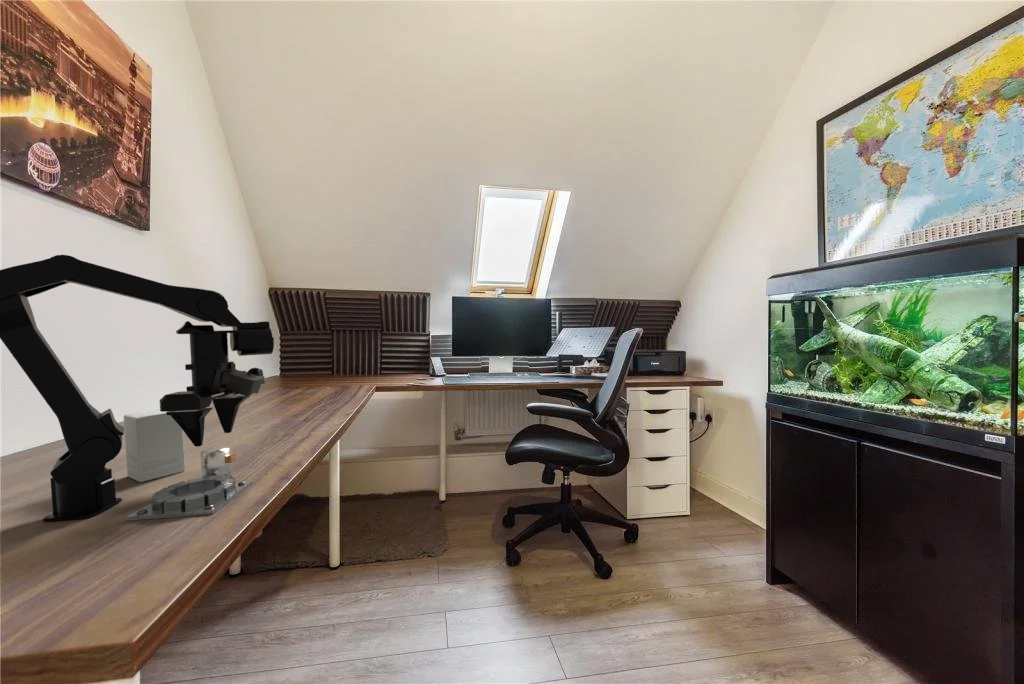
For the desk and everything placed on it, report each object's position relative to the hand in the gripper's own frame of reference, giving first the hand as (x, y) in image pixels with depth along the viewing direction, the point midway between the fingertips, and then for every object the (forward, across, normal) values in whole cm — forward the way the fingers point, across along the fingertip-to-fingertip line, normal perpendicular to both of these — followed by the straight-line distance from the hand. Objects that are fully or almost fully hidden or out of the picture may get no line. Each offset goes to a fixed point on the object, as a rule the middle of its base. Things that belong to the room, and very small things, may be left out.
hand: (214, 439), depth 77 cm
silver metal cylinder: (+8, 0, 0) cm, 8 cm away
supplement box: (+8, +7, +15) cm, 18 cm away
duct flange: (+8, -9, -2) cm, 13 cm away
